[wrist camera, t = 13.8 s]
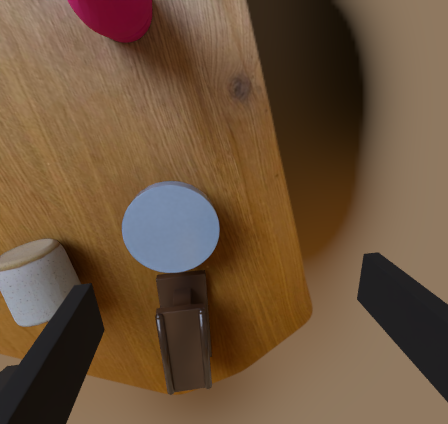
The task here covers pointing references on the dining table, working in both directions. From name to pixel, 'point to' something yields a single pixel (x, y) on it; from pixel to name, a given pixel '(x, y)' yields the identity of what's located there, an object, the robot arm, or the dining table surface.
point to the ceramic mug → (36, 280)
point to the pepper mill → (115, 17)
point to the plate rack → (184, 330)
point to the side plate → (171, 227)
